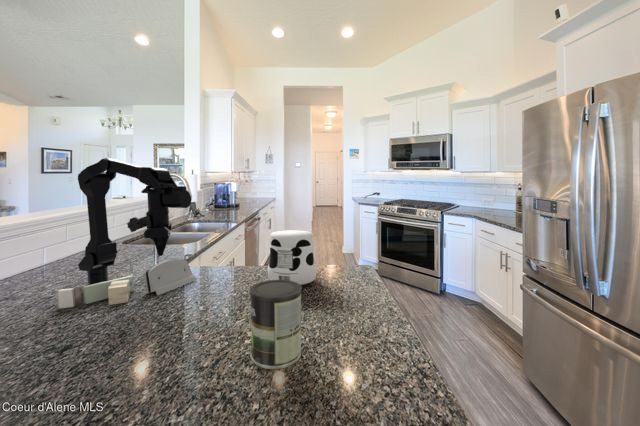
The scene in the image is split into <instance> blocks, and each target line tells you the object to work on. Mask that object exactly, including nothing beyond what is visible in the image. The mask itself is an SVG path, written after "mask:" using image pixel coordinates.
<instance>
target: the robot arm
mask: <svg viewBox="0 0 640 426" xmlns="http://www.w3.org/2000/svg"><path fill="white" fill-rule="evenodd" d="M117 174H119V175H124V176H127V177H131V178H135V179H137V180H138V181H139V182H140V183H142V184H144V185H146V187H145V188H143V189H142V190H141V194H146V195H147V210H148V211H147V212H146V213H145V216H142V217H139V218H138V217H137V216H135V217H132V218H129V221H128V222H127V223H126V226H127V228H128V229H129V231H130V232H131V233H135V232H136V231H137V230H140V229H144V228H146V229H145V230H144V231H143V236H144V237H143V238H144V239H150V240H152V241H153V244H154V245H155V248H156V252H157V255H158V257H163V255H164V252H165V250H166V247H167V244H168V241H169V238H170V237H171V232H170V231H172V230H173V224H172V223H171V222H170V216H169V214H170V210H169V209H170V208H171V209H175V208H176V209H187V208H189V207H190V206H191V204H192V196H191V193H190V191H188V189H187V186H185V185H184V186H182V185H181V186H178V185H177V183H176V182H175V180H174V178H173V177H172V176H171V173H170V171H169V170H168V169H166V168H162V167H161V168H160V167H146V166H145V167H144V166H141V165H137V164H134V163H130V162H129V163H128V162H124V161H122V160H119V159H116V158H106V157H104V158H102V159H100V160H99V161H97V162H96V163H93V164H90V165H88V166H86V167H85V168H84V169H83V170H81V171H80V172H79V173H78V174H77V181H78V186H79V190H80V191H82V193H83V194H84V196H86V205H87V215H88V225H89V226H88V227H89V238H90V240H89V241H88V243H87V244H86V246H85V251H84V256H83V258H82V259H81V260H80V261H79V262H78V265H77V266H78V268H79V271H84V272H86V273H87V274H86V276H87V277H86V278H87V284H86V285H85V286H87V285H92V284H96V283H101V282H105V281H109V280H110V279H109V270H108V269H109V268H108V267H110V266H111V267H112V266H114V265H115V261H116V258H117V254H118V249H117V246H118V245H117V242H116V241H114V242H113V240H111V238H110V237H109V228H108V226H109V225H108V215H107V214H108V212H107V204H106V202H107V201H106V195H107V193H108V192H109V191H110V188H111V182H112V181H113V180H114V179H116V176H117Z"/></svg>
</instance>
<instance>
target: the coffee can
mask: <svg viewBox="0 0 640 426" xmlns="http://www.w3.org/2000/svg"><path fill="white" fill-rule="evenodd" d="M302 290H303V286H301V285H300V284H298V283H296V282H293V281H289V280H269V279H268V280H265V281H264V280H263V281H260V282H257V283H256V284H254V285H252V286H251V287H250V288H249V294H250V331H251V332H250V335H251V336H250V338H251V339H250V340H251V342H250V343H251V344H250V345H251V346H250V347H251V353H250V359H251V361H252V362H253V364H255V366H258V367H259V368H263V369H265V370H280V369H284V368H287V367H291V366H293V365H294V364H296V363H297V362H298V361H299V360H300V359H301V356H302Z"/></svg>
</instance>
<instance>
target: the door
mask: <svg viewBox="0 0 640 426" xmlns="http://www.w3.org/2000/svg"><path fill="white" fill-rule="evenodd" d="M108 280H109V281H105V282H101V283H96V284H92V285H87V284H86V285H87V286H86V285H84V286H82V294H83V304H85V305H87V304H92V303H94V302H99V301H102V300H105V299H106V300H107V299H109V296H108V288H109V286H110V284H111V282H113V281H121V280H129V285H130V293H132V292H134V291H135V289H134V288H135V287H134V275H128V276H122V277H117V278H114V279H108Z"/></svg>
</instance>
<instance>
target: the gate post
mask: <svg viewBox="0 0 640 426" xmlns="http://www.w3.org/2000/svg"><path fill="white" fill-rule="evenodd" d="M73 288H74V297H75V306H74V307H82V306H83V305H84V294H83V286H82V285H75V286H74V287H73Z"/></svg>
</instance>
